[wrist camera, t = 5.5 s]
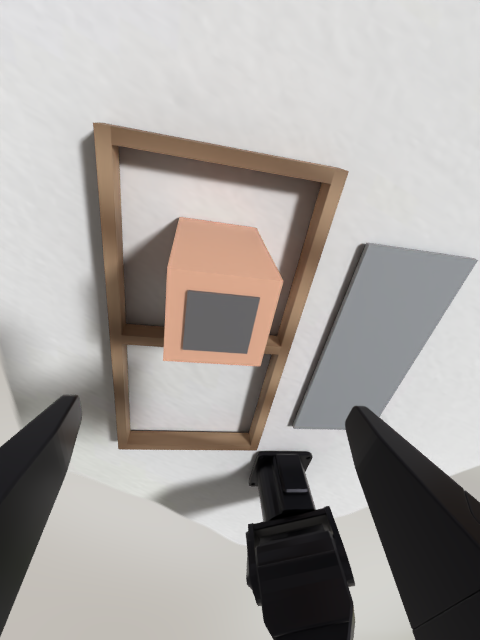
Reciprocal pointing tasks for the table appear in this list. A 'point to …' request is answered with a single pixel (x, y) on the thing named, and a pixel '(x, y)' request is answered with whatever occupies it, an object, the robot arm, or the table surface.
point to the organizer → (145, 335)
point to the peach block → (219, 294)
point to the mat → (380, 331)
